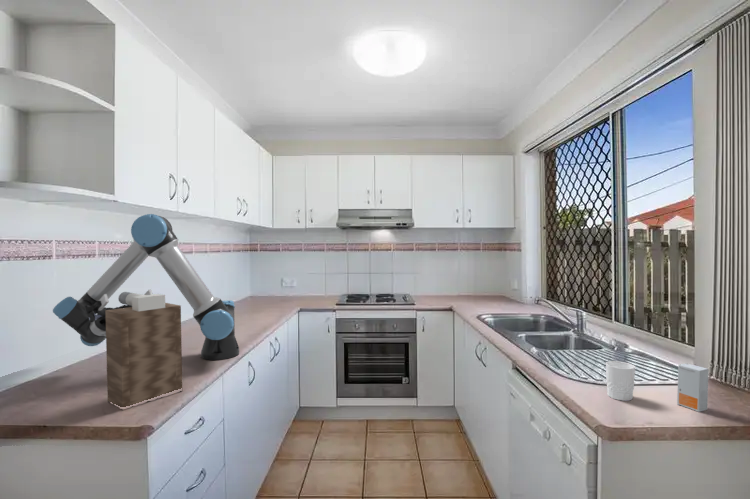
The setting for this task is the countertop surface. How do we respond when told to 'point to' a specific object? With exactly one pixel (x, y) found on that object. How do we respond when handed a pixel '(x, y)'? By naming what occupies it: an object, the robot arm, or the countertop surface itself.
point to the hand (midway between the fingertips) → (129, 295)
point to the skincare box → (692, 387)
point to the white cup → (620, 380)
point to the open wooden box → (143, 353)
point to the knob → (142, 301)
